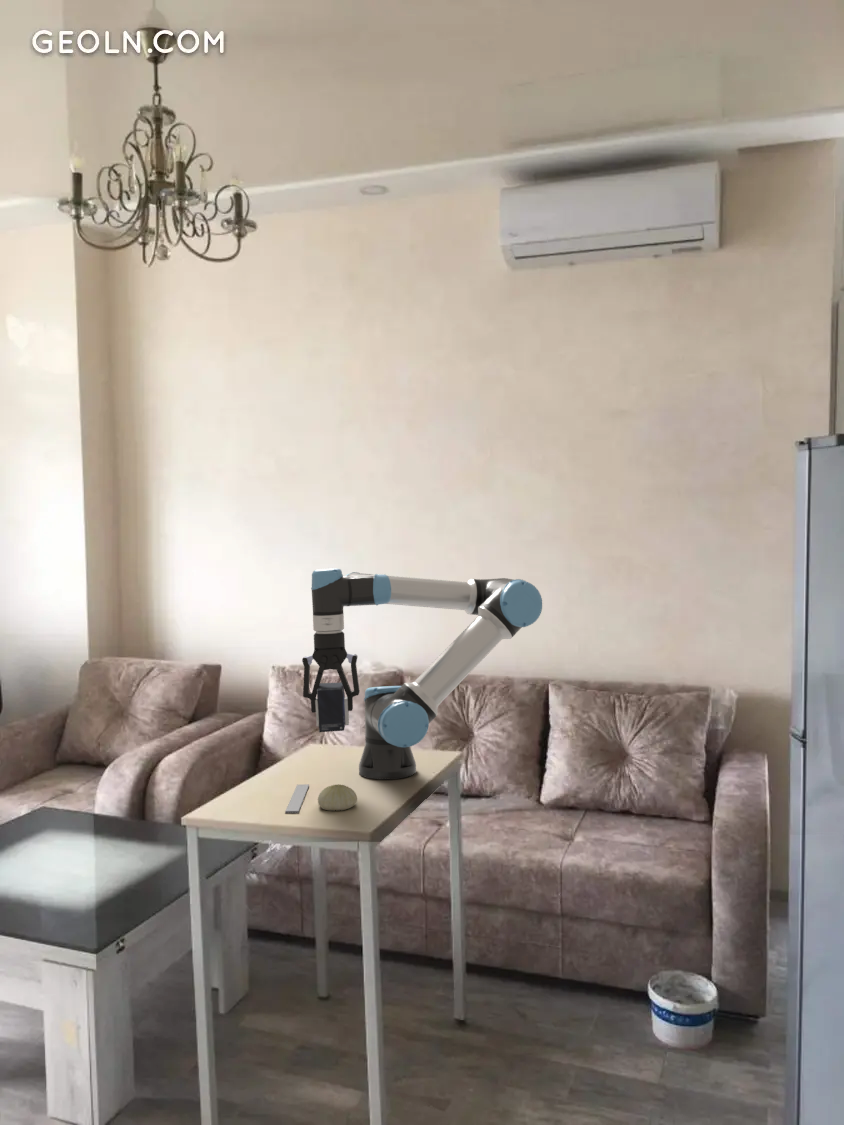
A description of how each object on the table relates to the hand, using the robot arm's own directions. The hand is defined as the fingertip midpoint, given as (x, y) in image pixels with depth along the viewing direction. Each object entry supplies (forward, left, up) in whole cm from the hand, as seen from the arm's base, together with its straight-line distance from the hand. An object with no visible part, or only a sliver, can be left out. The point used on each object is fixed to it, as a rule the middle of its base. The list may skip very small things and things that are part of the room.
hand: (332, 724), depth 236 cm
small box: (0, 0, -1) cm, 1 cm away
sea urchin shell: (-2, +13, -17) cm, 22 cm away
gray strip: (+8, +7, -17) cm, 20 cm away
